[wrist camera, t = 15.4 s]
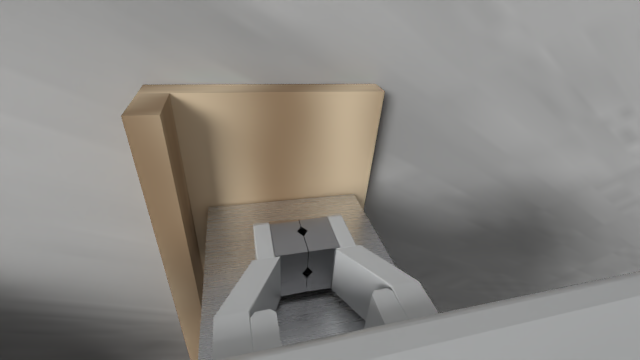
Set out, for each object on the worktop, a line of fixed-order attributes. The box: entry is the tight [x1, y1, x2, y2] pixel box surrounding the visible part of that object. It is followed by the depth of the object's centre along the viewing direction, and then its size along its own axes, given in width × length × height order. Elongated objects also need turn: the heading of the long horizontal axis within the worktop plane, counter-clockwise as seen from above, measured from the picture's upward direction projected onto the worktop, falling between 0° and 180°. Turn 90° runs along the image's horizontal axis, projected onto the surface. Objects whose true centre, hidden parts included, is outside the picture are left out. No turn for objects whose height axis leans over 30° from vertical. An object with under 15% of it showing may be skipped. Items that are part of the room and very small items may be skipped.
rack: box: [121, 84, 385, 360], centre depth 16 cm, size 9×25×7 cm, turn 176°
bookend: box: [198, 194, 396, 360], centre depth 12 cm, size 7×3×8 cm, turn 86°
